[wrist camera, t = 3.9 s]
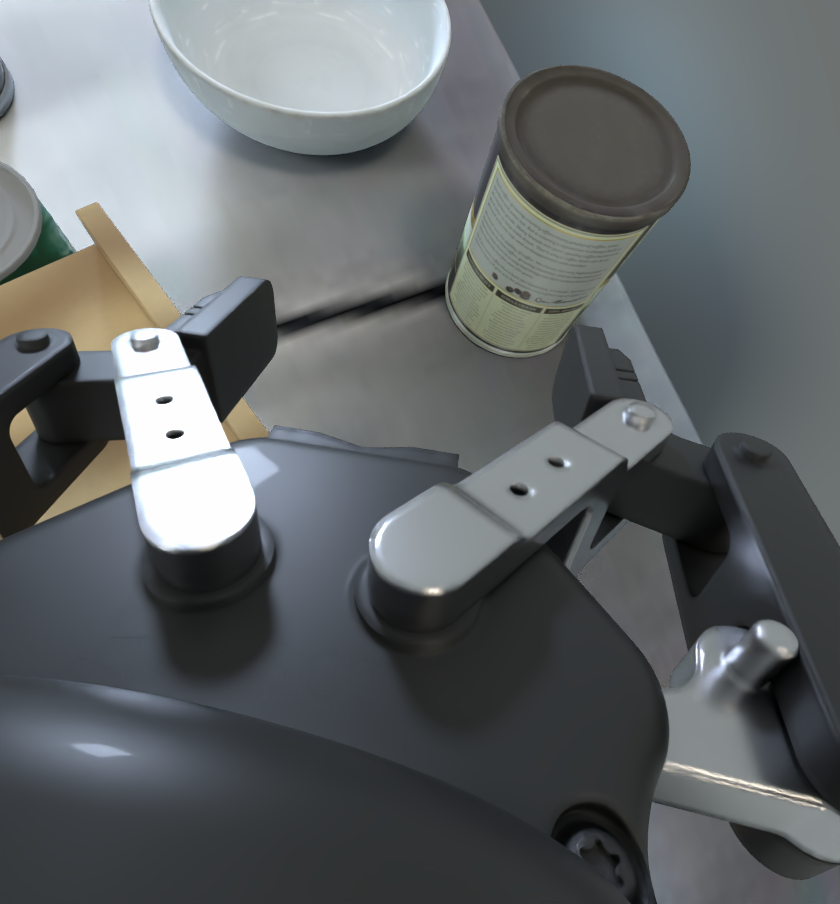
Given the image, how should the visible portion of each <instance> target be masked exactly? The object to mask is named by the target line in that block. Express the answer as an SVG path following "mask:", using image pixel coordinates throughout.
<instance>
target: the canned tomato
mask: <svg viewBox="0 0 840 904" xmlns="http://www.w3.org/2000/svg"><path fill="white" fill-rule="evenodd" d="M73 253H76V250H75V249H74V247H73V246H72V245H71V244H70V242H69V240H68V239H67V237H66V236H65V235H64V234H63V232H62V231H61V229H60V227H59V226H58V225H57V224H56V223H55V221H54V220H53V218H52V216H51V215H50V214H49V212H48V211H47V210H46V209H45V207H44V206H43V205H42V203H41V202H40V201H39V199H38V198H37V196H36V193H35V191H34V189H33V188H32V187H31V186H30V184H29V183H28V182H27V181H26V180H25V178H24V177H23V176H22V175H20V174H19V173H18V172H17V171H15V170H14V169H13V168H12V167H10V166H8V165H6V164H4V163H2V162H1V161H0V285H3V284H5V283H7V282H10V281H12V280H14V279H16V278H19V277H21V276H23V275H26V274H28V273H30V272H32V271H35V270H37V269H39V268H41V267H44V266H46V265H48V264H51V263H53V262H55V261H57V260H60V259H62V258H64V257H67V256H69V255H71V254H73Z"/></svg>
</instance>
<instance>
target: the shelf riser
mask: <svg viewBox="0 0 840 904" xmlns="http://www.w3.org/2000/svg"><path fill="white" fill-rule="evenodd" d="M75 212H76V214H77V216H78V218H79V219H80V221H81V222H82V224H83V225H84V227H85V229H86V230H87V232H88V233H89V235H90V236H91V238H92V240H93V241H94V243H95V244H94V245H92V246H89V247H87V248H85V249H83V250H80V251H78V252H76V253H73V254H71V255H69V256H67V257H64V258H62V259H60V260H57V261H55V262H53V263H51V264H48V265H46V266H44V267H41V268H39V269H37V270H35V271H32V272H30V273H28V274H26V275H23V276H21V277H19V278H16V279H14V280H12V281H10V282H7V283H5V284H3V285H0V340H2V339H3V338H5V337H7V336H9V335H12V334H14V333H17V332H21V331H25V330H30V329H38V328H54V329H61V330H64V331H67V332H68V333H70V334H71V336H72V338H73V340H74V343H75V346H76V349H77V351H111V342H112V341H113V340H114V339H115V338H116V337H117V336H119V335H121V334H123V333H125V332H128V331H132V330H136V329H142V328H161V329H165V328H167V327H168V326H169V325H170V324H172V323H173V322H174V321H175V320H177V319H178V318H179V317H180V316H182V315H181V314H180V313H179V311H178V310H177V309H176V307H175V306H174V304H173V303H172V302H171V300H170V299H169V298H168V296H167V295H166V294H165V292H164V291H163V290H162V288H161V287H160V286H159V284H158V283H157V282H156V280H155V279H154V278H153V276H152V275H151V273H150V272H149V271H148V269H147V268H146V267H145V265H144V264H143V263H142V261H141V260H140V259H139V257H138V256H137V255H136V253H135V252H134V251H133V249H132V248H131V247H130V245H129V244H128V242H127V241H126V240H125V238H124V237H123V236H122V234H121V233H120V232H119V230H118V229H117V228H116V226H115V225H114V224H113V222H112V221H111V220H110V218H109V217H108V215H107V214H106V213H105V211H104V210H103V209H102V207H101V206H100V205H99V203H97V202H95V203H93V204H91V205H88V206H86V207H83V208H81V209H78V210H76V211H75ZM220 424H221V427H222V429H223V431H224V434H225V436H226V438H227V441H228V443H230V442H234V441H238V440H243V439H250V438H260V437H268V435H269V433H268V431H267V430H266V429H265V427H264V426H263V425H262V423H261V422H260V420H259V419H258V418H257V416H256V415H255V414H254V412H253V411H252V410H251V408H250V407H249V406H248V404H247V403H246V402H245V400H244V399H243V398H241V400H240V401H239V402H238V403H237V405H236V406H235V407H234V409H233V410H232V411H231V412H230V414H229V415H228V416H227V418H226V419H225V420H224V421H223V423H220ZM34 430H36V429H35V427H34V425H33V423H32V421H31V418H30V416H29V414H28V412H27V410H26V408H24V409H23V410H22V411H21V412H19V413H18V414H17V415H16V416H15V417H14V419H13V420H12V422H11V425H10V437H11V440H12V442H13V444H14V446H15V447H16V446H17V445H19V444H20V443H21V442H22V441H23V440H24V439H25V438H26V437H28V436H29V435H30V434H31V433H32V432H33V431H34ZM130 472H131V465H130V460H129V455H128V450H127V445H126V440H114V441H109V442H108V444H107V445H106V447H105V448H104V449H103V450H102V451H101V452H100V453H99V455H98V456H97V457H96V458H95V459H94V460H93V461H92V462H91V463H90V464H89V465H88V467H87V468H86V469H85V470H84V471H83V472H82V473H81V474H80V475H79V476H78V478H77V479H76V480H75V481H74V482H73V483H72V484H71V485H70V486H69V487H68V488H67V490H66V491H65V492H64V493H63V494H62V495H61V496H60V497H59V498H58V499H57V501H56V502H55V503H54V504H53V505H52V506H51V507H50V508H49V509H48V510H47V511H46V513H45V514H44V515H43V516H42V517H41V518H40V519H39V520H38V521H37V522H36V524H38V523H40V522H43V521H45V520H47V519H50V518H52V517H54V516H57V515H59V514H61V513H64V512H66V511H68V510H71V509H73V508H75V507H78V506H80V505H82V504H85V503H87V502H89V501H92V500H94V499H96V498H99V497H101V496H103V495H106V494H108V493H111V492H113V491H115V490H118V489H120V488H122V487H125V486H127V485H129V484H131V478H130ZM36 524H35V525H36Z"/></svg>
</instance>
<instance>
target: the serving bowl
mask: <svg viewBox="0 0 840 904" xmlns="http://www.w3.org/2000/svg"><path fill="white" fill-rule="evenodd" d="M149 6H150V11H151V15H152V18H153V22H154V24H155V27H156V29H157V32H158V34H159V36H160V39H161V41H162V43H163V46H164V48H165V50H166V52H167V54H168V56H169V58H170V60H171V61H172V63H173V65H174V67H175V69H176V70H177V72H178V73H179V75H180V76H181V78H182V79H183V81H184V82H185V84H186V85H187V86H188V88H189V89H190V90H191V91H192V93H193V94H194V95H195V96H196V97H197V98H198V99H199V100H200V101H201V102H202V103H203V104H204V106H206V107H207V108H208V109H209V110H210V111H211V112H212V113H213V114H215V115H216V116H217V117H218V118H219V119H221V120H222V121H223V122H225V123H226V124H227V125H229V126H230V127H232V128H233V129H235V130H236V131H238V132H240V133H242V134H244V135H245V136H247V137H249V138H251V139H253V140H256V141H258V142H260V143H263V144H265V145H268V146H271V147H274V148H277V149H281V150H285V151H289V152H294V153H300V154H309V155H336V154H344V153H351V152H355V151H359V150H362V149H366V148H369V147H371V146H374V145H376V144H379V143H381V142H383V141H385V140H387V139H389V138H390V137H392V136H393V135H395V134H396V133H398V132H399V131H401V130H402V129H403V128H404V127H406V126H407V125H408V124H409V123H410V122H411V121H412V120H413V119H414V118H415V117H416V116H417V115H418V114H419V113H420V111H421V110H422V109H423V108H424V106H425V105H426V103H427V102H428V100H429V99H430V97H431V95H432V93H433V92H434V90H435V88H436V86H437V84H438V81H439V79H440V76H441V74H442V71H443V68H444V66H445V63H446V60H447V57H448V53H449V49H450V44H451V21H450V16H449V12H448V9H447V6H446V3H445V1H444V0H149Z"/></svg>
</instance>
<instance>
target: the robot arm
mask: <svg viewBox="0 0 840 904" xmlns="http://www.w3.org/2000/svg"><path fill="white" fill-rule="evenodd" d="M13 94H14V83H13V79H12V76H11V74H10V72H9V71H8V69H7V67H6V65H5V64H4V62H3V60H2V59H1V57H0V117H1V116H2V115H3V114H4V113H5V111H6V110H7V109H8V107H9V105H10V103H11V101H12V98H13ZM276 348H277V325H276V315H275V304H274V293H273V287H272V284H271V282H270V281H269V280H264V279H257V278H250V277H243V276H240V277H239V278H237V279H236V280H235V281H234V282H232V283H231V284H230V285H229V286H228V287H226V288H225V289H224V290H223V291H222V292H221V291H220V292H217V293H215V294H212V295H209V296H207V297H204V298H203V299H201V300H200V301H199V302H198V303H196V304H195V305H194V307H193V308H190V309H189V310H188V311H186V312H185V314H183V315H182V316H180V317H179V318H178V319H177V320H175V321H174V322H173V323H172V324H170V325H169V326H168V327H167V328H165V329H161V328H142V329H136V330H132V331H128V332H125V333H123V334H121V335H119V336H117V337H116V338H115V339H114V340H113V341H112V342H111V351H77V349H76V346H75V343H74V340H73V338H72V336H71V334H70V333H68V332H67V331H64V330H61V329H54V328H38V329H30V330H25V331H21V332H17V333H14V334H12V335H9V336H7V337H5V338H3V339H2V340H0V904H657V902H656V898H655V894H654V890H653V886H652V882H651V877H650V871H649V863H648V824H649V816H650V809H651V803H652V802H655V803H659V804H663V805H666V806H670V807H674V808H678V809H682V810H686V811H690V812H694V813H698V814H701V815H705V816H709V817H713V818H717V819H721V820H725V821H729V823H730V826H731V827H732V829H733V831H734V833H735V835H736V836H737V838H738V839H739V840H740V842H741V843H742V845H743V846H744V847H745V848H746V849H747V850H748V852H749V853H750V854H751V855H752V856H753V857H754V858H755V859H757V860H758V861H759V862H760V863H761V864H763V865H764V866H765V867H767V868H768V869H770V870H771V871H773V872H775V873H777V874H779V875H781V876H784V877H787V878H790V879H796V880H804V879H809V878H811V877H814V876H816V875H818V874H820V873H823V872H825V871H827V870H829V869H832V868H834V867H836V866H838V865H840V546H839V545H838V543H837V541H836V539H835V538H834V536H833V534H832V533H831V531H830V529H829V528H828V526H827V524H826V522H825V521H824V519H823V517H822V516H821V514H820V512H819V511H818V509H817V507H816V505H815V504H814V502H813V500H812V499H811V497H810V495H809V494H808V492H807V490H806V488H805V487H804V485H803V483H802V482H801V480H800V479H799V476H798V475H797V473H796V471H795V470H794V468H793V466H792V464H791V463H790V461H789V460H788V458H787V457H786V456H785V455H784V454H783V453H782V452H781V451H780V450H779V449H777V448H776V447H774V446H773V445H771V444H769V443H768V442H766V441H763V440H761V439H759V438H756V437H753V436H750V435H746V434H741V433H724V434H721V435H719V436H718V437H717V438H716V440H715V442H714V443H713V445H712V447H711V448H709V447H706V446H703V445H700V444H697V443H694V442H691V441H688V440H686V439H683V438H680V437H678V436H676V435H674V434H672V433H671V432H672V430H673V428H674V424H673V421H672V419H671V418H670V417H669V415H668V414H667V413H665V412H664V411H663V410H661V409H660V408H658V407H656V406H654V405H652V404H650V403H647V402H646V399H645V397H644V394H643V392H642V389H641V386H640V384H639V382H638V379H637V376H636V373H634V372H635V371H634V368H633V366H632V363H631V360H629V359H628V358H627V357H626V356H625V355H624V354H623V353H622V352H621V351H620V350H618V349H611V348H609V347H608V344H607V341H606V338H605V335H604V332H603V329H602V328H596V327H589V326H582V325H575V324H573V325H572V326H571V328H570V330H569V333H568V336H567V340H566V343H565V347H564V350H563V353H562V357H561V360H560V364H559V367H558V370H557V374H556V377H555V381H554V386H553V393H552V403H553V411H554V420H555V421H554V422H552V423H550V424H549V425H547V426H546V427H544V428H543V429H541V430H540V431H538V432H537V433H535V434H533V435H532V436H530V437H529V438H527V439H526V440H524V441H523V442H521V443H520V444H518V445H516V446H515V447H513V448H512V449H510V450H509V451H507V452H506V453H504V454H502V455H501V456H499V457H498V458H496V459H495V460H493V461H492V462H490V463H489V464H487V465H485V466H484V467H482V468H481V469H479V470H478V471H476V472H475V473H473V474H472V473H470V472H468V471H466V470H463V469H461V468H458V459H459V455H458V454H452V453H446V452H439V451H433V450H427V449H421V448H414V447H385V448H366V447H360V446H357V445H354V444H351V443H348V442H345V441H343V440H340V439H337V438H334V437H331V436H328V435H325V434H322V433H319V432H313V431H307V430H301V429H294V428H288V427H282V426H274V427H273V429H272V431H271V432H270V434H269V435H268V437H260V438H250V439H243V440H238V441H234V442H230V443H228V441H227V438H226V436H225V434H224V431H223V429H222V427H221V424H220V423H223V421H224V420H225V419H226V418H227V416H228V415H229V414H230V412H231V411H232V410H233V409H234V407H235V406H236V405H237V403H238V402H239V401H240V400H241V398H242V397H243V396H244V394H245V393H246V392H247V391H248V389H249V388H250V387H251V385H252V384H253V383H254V381H255V380H256V379H257V378H258V376H259V375H260V374H261V372H262V371H263V370H264V369H265V367H266V366H267V365H268V363H269V362H270V361H271V360H272V358H273V357H274V355H275V352H276ZM24 408H26V410H27V412H28V414H29V416H30V418H31V421H32V423H33V425H34V427H35V429H36V430H34V431H33V432H32V433H31V434H30V435H29V436H28V437H26V438H25V439H24V440H23V441H22V442H21V443H20V444H19V445H17V446H16V447H15V446H14V444H13V442H12V440H11V437H10V425H11V422H12V420H13V419H14V417H15V416H16V415H17V414H18V413H19V412H21V411H22V410H23V409H24ZM114 440H126V445H127V450H128V455H129V460H130V465H131V472H130V478H131V484H129V485H127V486H125V487H122V488H120V489H118V490H115V491H113V492H111V493H108V494H106V495H103V496H101V497H99V498H96V499H94V500H92V501H89V502H87V503H85V504H82V505H80V506H78V507H75V508H73V509H71V510H68V511H66V512H64V513H61V514H59V515H57V516H54V517H52V518H50V519H47V520H45V521H43V522H40V523H38V524H36V522H37V521H38V520H39V519H40V518H41V517H42V516H43V515H44V514H45V513H46V511H47V510H48V509H49V508H50V507H51V506H52V505H53V504H54V503H55V502H56V501H57V499H58V498H59V497H60V496H61V495H62V494H63V493H64V492H65V491H66V490H67V488H68V487H69V486H70V485H71V484H72V483H73V482H74V481H75V480H76V479H77V478H78V476H79V475H80V474H81V473H82V472H83V471H84V470H85V469H86V468H87V467H88V465H89V464H90V463H91V462H92V461H93V460H94V459H95V458H96V457H97V456H98V455H99V453H100V452H101V451H102V450H103V449H104V448H105V447H106V445H107V444H108V442H109V441H114ZM628 520H629V521H631V522H634V523H636V524H639V525H642V526H644V527H647V528H649V529H652V530H654V531H657V532H659V533H662V539H663V544H664V548H665V552H666V557H667V561H668V566H669V570H670V574H671V579H672V583H673V587H674V592H675V596H676V600H677V605H678V609H679V614H680V618H681V622H682V627H683V631H684V635H685V640H686V644H687V648H688V652H687V654H686V655H685V656H684V657H683V659H682V660H681V661H680V662H679V664H678V665H677V666H676V668H675V669H674V670H673V672H672V674H671V676H670V682H669V684H670V688H661V686H660V683H659V681H658V679H657V677H656V675H655V673H654V671H653V669H652V667H651V666H650V664H649V662H648V661H647V659H646V658H645V656H644V655H643V653H642V652H641V651H640V650H639V648H638V647H637V646H636V645H635V643H634V642H633V641H632V640H631V639H630V638H629V637H628V636H627V634H626V633H625V632H624V631H623V630H622V629H621V628H620V627H619V625H618V624H617V623H616V622H615V621H614V620H613V619H612V618H611V616H610V615H609V614H608V613H607V612H606V611H605V610H604V609H603V607H602V606H601V605H600V604H599V603H598V602H597V601H596V600H595V598H594V597H593V596H592V595H591V594H590V593H589V592H588V591H587V590H586V588H585V587H584V586H583V585H582V584H581V583H580V582H579V581H578V579H577V578H576V577H577V576H578V574H579V573H580V571H581V570H582V569H583V567H584V566H585V565H586V564H587V563H588V562H589V561H590V560H591V559H592V558H593V556H594V555H595V554H596V553H597V552H598V551H599V550H600V549H601V548H602V547H603V546H604V545H605V544H606V543H607V542H608V541H609V540H610V539H611V538H612V537H613V536H614V535H615V534H616V533H617V532H618V531H619V530H620V529H621V528H622V527H623V526H624V525H625V524H626V523H627V521H628ZM35 524H36V525H35Z"/></svg>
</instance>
